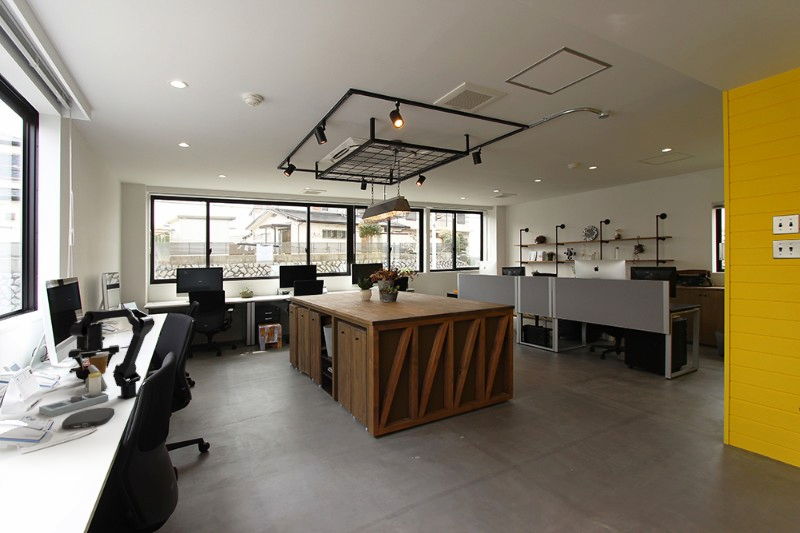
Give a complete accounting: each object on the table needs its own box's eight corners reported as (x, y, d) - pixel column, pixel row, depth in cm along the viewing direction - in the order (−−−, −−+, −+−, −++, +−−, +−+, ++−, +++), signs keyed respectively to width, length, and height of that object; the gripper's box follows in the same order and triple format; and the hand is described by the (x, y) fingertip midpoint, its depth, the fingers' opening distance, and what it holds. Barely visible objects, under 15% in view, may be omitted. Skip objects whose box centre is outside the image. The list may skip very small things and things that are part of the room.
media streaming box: (117, 412, 163) (117, 405, 163) (105, 426, 150) (105, 418, 150) (74, 417, 158) (74, 410, 158) (58, 432, 144) (58, 424, 144)
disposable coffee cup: (90, 371, 219) (90, 351, 219) (110, 370, 223) (110, 349, 223) (85, 376, 211) (85, 355, 210) (106, 374, 215) (106, 353, 214)
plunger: (84, 403, 170) (84, 396, 170) (73, 406, 167) (73, 399, 166) (79, 401, 172) (79, 394, 172) (68, 404, 168) (68, 397, 168)
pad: (106, 394, 177) (106, 393, 177) (91, 398, 171) (91, 397, 171) (98, 391, 180) (98, 391, 180) (82, 396, 174) (82, 395, 174)
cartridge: (103, 393, 177) (103, 373, 176) (92, 396, 172) (91, 376, 172) (97, 391, 179) (97, 371, 178) (86, 395, 174) (86, 374, 174)
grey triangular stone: (107, 390, 189) (107, 369, 189) (83, 394, 184) (83, 372, 184) (108, 381, 202) (108, 361, 202) (86, 385, 197) (86, 364, 197)
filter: (70, 385, 196) (70, 327, 195) (75, 380, 204) (75, 324, 203) (103, 382, 202) (103, 325, 201) (107, 377, 210) (107, 322, 209)
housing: (108, 400, 176) (108, 394, 176) (51, 417, 157) (51, 410, 157) (96, 396, 180) (96, 391, 180) (39, 412, 161) (39, 406, 161)
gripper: (119, 331, 194) (119, 362, 194) (71, 335, 183) (71, 368, 184) (118, 335, 185) (119, 367, 185) (68, 339, 174) (68, 373, 175)
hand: (95, 369), depth 182 cm, fingers open, 9 cm apart
